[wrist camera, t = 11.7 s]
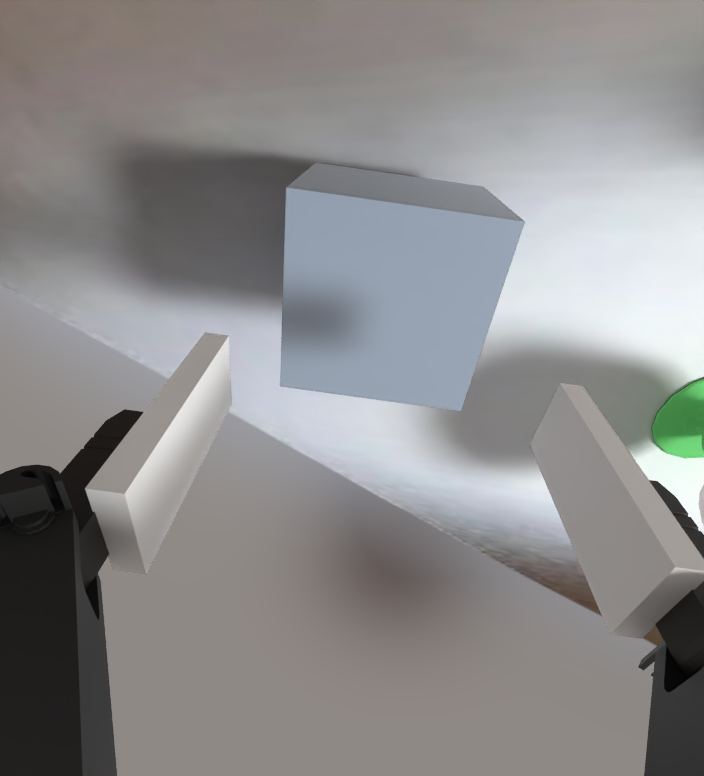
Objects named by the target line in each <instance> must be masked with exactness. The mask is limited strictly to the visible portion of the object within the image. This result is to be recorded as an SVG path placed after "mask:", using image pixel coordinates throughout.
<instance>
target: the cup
mask: <svg viewBox="0 0 704 776" xmlns="http://www.w3.org/2000/svg"><path fill="white" fill-rule="evenodd" d="M652 432H653V436H654V440H655V443H656V444H657V445H658V446H659V447H660V448H661V449H663V450H664V451H665V452H666V453H667V454H671V455H675V456H679V457H683V458H697V457H704V379H702V380H699V381H696V382H693V383H692V384H690V385H688V386H687V387H685V388H684V389H682V390H681V391H679V392H677V393H676V394H674V395H673V396H672V397H671V398H670V399H669V400H668V401H667V402H666V403H665V404H664V406H663V407H662V408H661V409H660V410H659V411H658V412H657V415H656V418H655V421H654V424H653V427H652ZM699 508H700V513H701V519H702V523H703V525H704V485H703V487H702V489H701V491H700V496H699Z"/></svg>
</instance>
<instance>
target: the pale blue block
mask: <svg viewBox="0 0 704 776" xmlns="http://www.w3.org/2000/svg"><path fill="white" fill-rule="evenodd" d="M524 223H525V221H523V220H522V219H521V218H520V217H519V216H517V215H516V214H515V213H514V212H513V211H512V210H510V209H509V208H508V207H507V206H506V205H504V204H503V203H502V202H501V201H500V200H498V199H497V198H496V197H495V196H494V195H493V194H491V193H490V192H489V191H488V190H487V189H485V188H484V187H481V186H475V185H468V184H461V183H454V182H447V181H440V180H433V179H426V178H419V177H412V176H406V175H399V174H392V173H385V172H378V171H371V170H364V169H357V168H350V167H343V166H337V165H330V164H323V163H315V164H313V165H312V166H311V167H310V168H309V169H307V170H306V171H305V172H304V173H303V174H301V175H300V176H299V177H298V178H297V179H296V180H294V181H293V182H292V183H291V184H290V185H288V186H287V187H286V208H285V241H284V275H283V308H282V342H281V375H280V386H281V387H288V388H296V389H303V390H310V391H317V392H325V393H332V394H339V395H346V396H354V397H361V398H368V399H376V400H383V401H390V402H397V403H405V404H412V405H419V406H427V407H434V408H441V409H448V410H456V411H461V410H462V407H463V404H464V401H465V398H466V395H467V392H468V389H469V386H470V383H471V380H472V377H473V374H474V371H475V368H476V365H477V362H478V359H479V356H480V353H481V350H482V347H483V344H484V342H485V339H486V336H487V333H488V330H489V327H490V324H491V321H492V318H493V315H494V312H495V309H496V306H497V303H498V300H499V297H500V294H501V291H502V288H503V285H504V282H505V279H506V276H507V273H508V270H509V267H510V265H511V262H512V259H513V256H514V253H515V250H516V247H517V244H518V241H519V238H520V235H521V232H522V229H523V226H524Z"/></svg>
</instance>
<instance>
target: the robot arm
mask: <svg viewBox="0 0 704 776" xmlns="http://www.w3.org/2000/svg"><path fill="white" fill-rule="evenodd" d="M231 404H232V395H231V373H230V352H229V336H226V335H219V334H212V333H204V335H203V336H202V337H201V339H200V340H199V341H198V342H197V344H196V345H195V346H194V348H193V349H192V350H191V352H190V353H189V354H188V355H187V357H186V358H185V359H184V361H183V362H182V363H181V365H180V366H179V367H178V368H177V370H176V371H175V372H174V374H173V375H172V376H171V377H170V379H169V380H168V381H167V383H166V384H165V385H164V387H163V388H162V389H161V391H160V392H159V393H158V394H157V396H156V397H155V398H154V400H153V401H152V402H151V404H150V405H149V406H148V407H147V409H146V410H145V411H144V412H139V411H132V410H123V411H121V412H120V413H118V414H116V415H115V416H113V417H111V418H110V419H108V420H107V421H106V422H105V423H104V424H103V425H102V426H101V427H100V428H99V430H98V431H97V432H96V433H95V434H94V437H93V438H91V439H90V440H89V441H88V442H87V444H86V445H85V446H84V449H81V450H80V452H79V453H78V454H77V455H76V456H75V457H74V459H73V460H72V461H71V462H70V463H69V464H68V465H67V466H66V468H65V469H64V470H63V471H62V473H60V474H59V472H58V471H56V470H55V469H53V468H52V467H50V466H43V465H30V466H22V467H18V468H15V469H12V470H9V471H6V472H4V473H2V474H0V776H117V770H116V758H115V746H114V734H113V722H112V710H111V699H110V686H109V674H108V663H107V651H106V639H105V627H104V615H103V604H102V592H101V581H100V578H99V576H98V571H99V570H100V568H101V566H102V565H103V563H104V562H105V560H106V558H107V556H108V557H109V560H110V563H111V566H112V569H113V570H116V571H124V572H133V573H139V574H147V572H148V570H149V568H150V566H151V564H152V562H153V560H154V558H155V556H156V554H157V552H158V550H159V548H160V546H161V544H162V542H163V540H164V538H165V536H166V534H167V532H168V530H169V528H170V526H171V524H172V522H173V520H174V518H175V516H176V514H177V512H178V510H179V508H180V506H181V504H182V502H183V500H184V498H185V496H186V494H187V492H188V490H189V488H190V486H191V484H192V482H193V480H194V478H195V476H196V474H197V472H198V470H199V468H200V466H201V464H202V462H203V460H204V458H205V456H206V454H207V452H208V450H209V448H210V446H211V444H212V442H213V440H214V438H215V436H216V434H217V432H218V430H219V428H220V426H221V424H222V422H223V420H224V418H225V416H226V414H227V412H228V410H229V408H230V406H231ZM530 447H531V449H532V452H533V454H534V456H535V459H536V461H537V464H538V466H539V468H540V471H541V473H542V475H543V478H544V480H545V482H546V485H547V487H548V489H549V492H550V494H551V497H552V499H553V501H554V504H555V506H556V508H557V511H558V513H559V515H560V518H561V520H562V522H563V525H564V527H565V530H566V532H567V534H568V537H569V539H570V541H571V544H572V546H573V548H574V551H575V553H576V555H577V558H578V560H579V563H580V565H581V567H582V570H583V572H584V574H585V577H586V579H587V581H588V584H589V586H590V588H591V591H592V593H593V596H594V598H595V600H596V603H597V605H598V607H599V610H600V612H601V614H602V617H603V619H604V621H605V624H606V626H607V629H608V631H609V633H610V634H611V635H618V636H626V637H635V638H643V637H644V636H645V635H646V634H647V633H648V632H649V631H650V630H651V629H653V628H654V627H655V626H657V628H658V630H659V632H660V634H661V636H662V638H663V640H664V641H663V642H661V643H660V644H659V645H658V646H657V647H656V648H655V649H653V650H652V651H651V652H650V653H649V654H648V655H647V656H645V657H644V658H643V659H642V660H641V662H640V665H639V668H641V669H642V670H644V669H646V668H647V667H648V666H649V665H650V664H652V663H653V662H655V664H654V672H653V673H652V674H651V675H652V676H653V686H652V697H651V708H650V719H649V730H648V741H647V752H646V763H645V773H644V776H704V535H703V533H702V532H701V531H698V527H697V525H696V524H695V523H694V521H693V520H692V518H691V517H688V513H687V512H686V510H685V509H684V508H683V506H682V505H681V504H680V502H679V501H678V499H677V498H676V497H675V496H674V495H673V494H672V493H670V492H669V491H668V490H667V489H666V488H665V487H663V486H662V485H661V484H660V483H659V482H658V481H651V480H648V478H647V477H646V476H645V474H644V473H643V471H642V470H641V468H640V467H639V465H638V464H637V463H636V461H635V460H634V458H633V457H632V455H631V454H630V453H629V451H628V450H627V448H626V447H625V445H624V444H623V443H622V441H621V440H620V438H619V437H618V435H617V434H616V433H615V431H614V430H613V428H612V427H611V425H610V424H609V423H608V421H607V420H606V418H605V417H604V415H603V414H602V413H601V411H600V410H599V408H598V407H597V405H596V404H595V403H594V401H593V400H592V398H591V397H590V395H589V394H588V393H587V391H586V390H585V388H584V387H583V386H580V385H573V384H566V383H560V384H559V386H558V388H557V390H556V392H555V394H554V396H553V398H552V400H551V402H550V404H549V406H548V408H547V410H546V412H545V414H544V416H543V418H542V420H541V422H540V424H539V426H538V428H537V430H536V432H535V434H534V436H533V439H532V441H531V443H530Z"/></svg>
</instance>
